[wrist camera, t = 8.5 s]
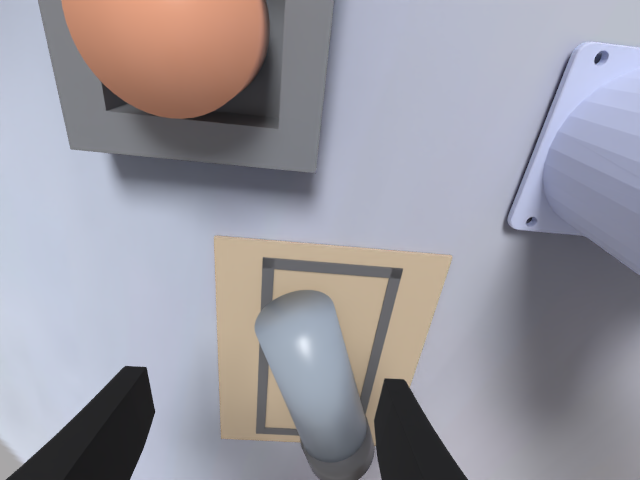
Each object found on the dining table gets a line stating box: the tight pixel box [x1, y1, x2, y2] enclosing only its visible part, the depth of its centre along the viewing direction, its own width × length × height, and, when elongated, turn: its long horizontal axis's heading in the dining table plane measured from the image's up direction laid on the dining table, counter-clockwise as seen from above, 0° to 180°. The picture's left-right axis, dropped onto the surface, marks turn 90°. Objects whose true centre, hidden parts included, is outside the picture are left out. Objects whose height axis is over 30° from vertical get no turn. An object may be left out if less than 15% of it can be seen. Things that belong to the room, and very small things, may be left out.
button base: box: [38, 0, 334, 173], centre depth 13 cm, size 9×9×2 cm
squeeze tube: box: [255, 290, 374, 480], centre depth 20 cm, size 4×11×4 cm, turn 13°
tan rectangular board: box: [214, 236, 453, 446], centre depth 22 cm, size 12×16×1 cm
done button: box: [61, 0, 270, 119], centre depth 11 cm, size 5×5×3 cm
